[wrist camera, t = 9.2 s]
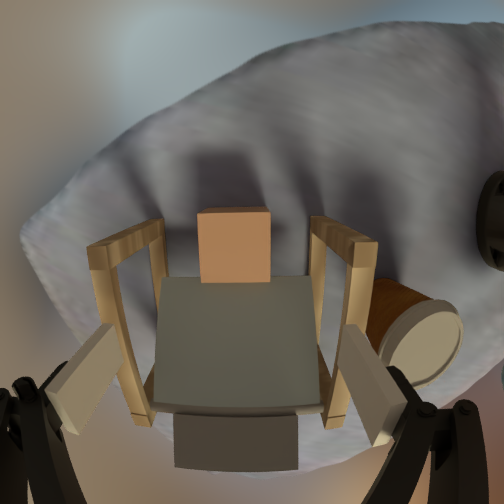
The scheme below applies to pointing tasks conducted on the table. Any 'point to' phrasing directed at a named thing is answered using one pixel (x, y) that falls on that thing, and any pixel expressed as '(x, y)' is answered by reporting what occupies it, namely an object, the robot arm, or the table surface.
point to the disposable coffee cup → (413, 331)
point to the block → (234, 244)
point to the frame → (153, 233)
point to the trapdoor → (236, 371)
